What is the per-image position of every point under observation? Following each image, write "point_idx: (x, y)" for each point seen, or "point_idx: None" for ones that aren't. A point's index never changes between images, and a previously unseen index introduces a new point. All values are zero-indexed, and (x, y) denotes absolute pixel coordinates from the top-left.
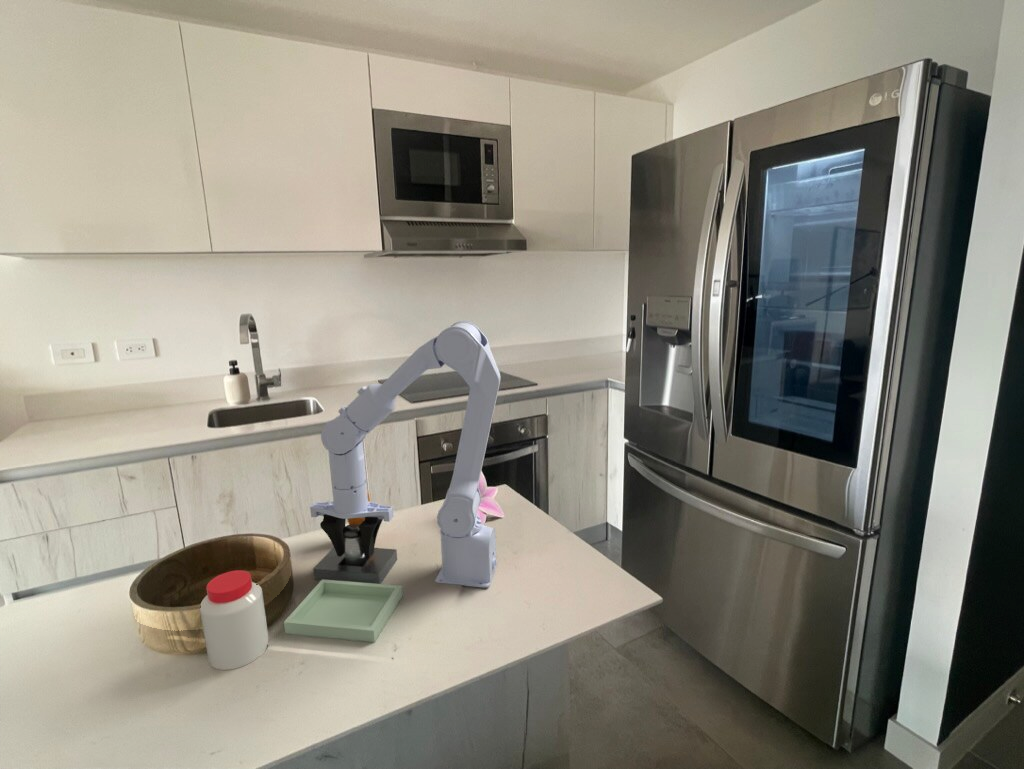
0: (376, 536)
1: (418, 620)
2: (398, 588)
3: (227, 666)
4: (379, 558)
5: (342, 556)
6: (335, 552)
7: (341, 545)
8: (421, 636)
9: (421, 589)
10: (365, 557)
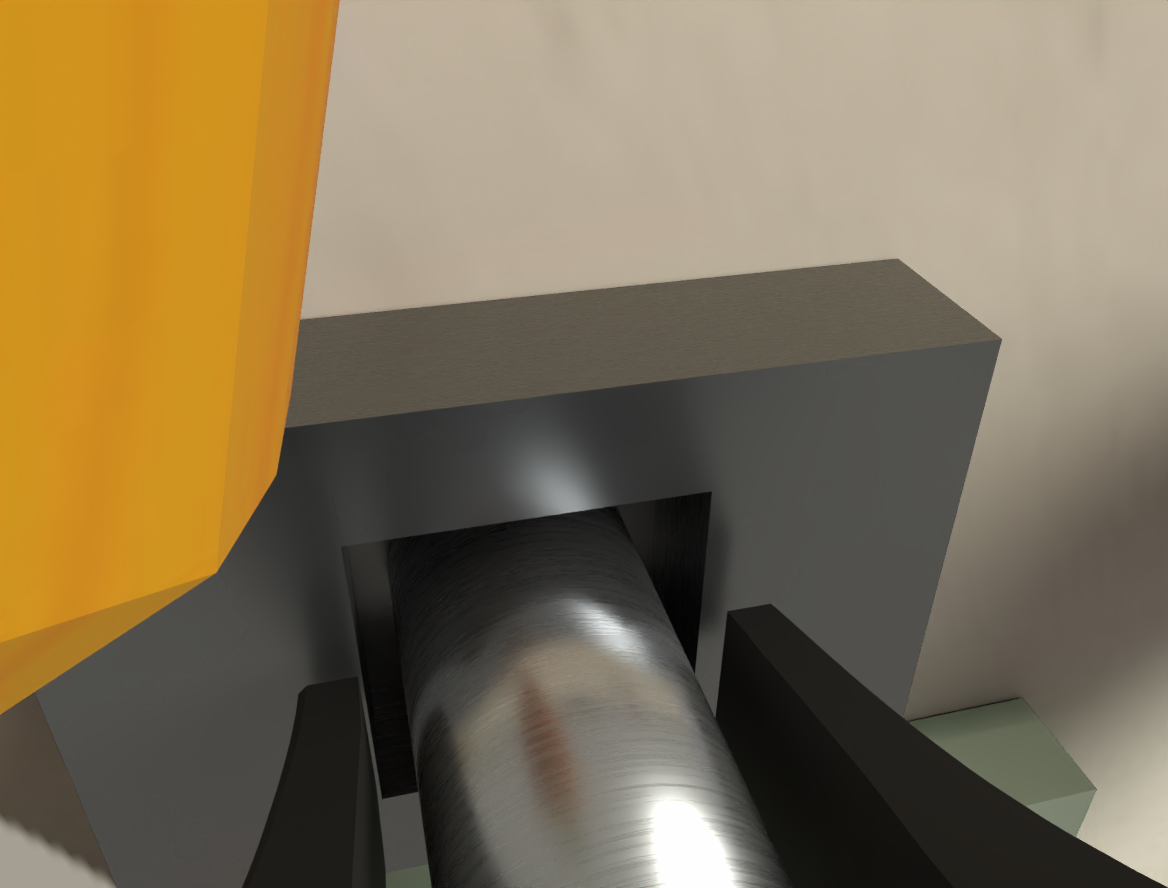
0: (944, 752)
1: (1128, 798)
2: (1073, 815)
3: None
4: (827, 570)
5: (319, 671)
6: (135, 631)
7: (375, 879)
8: (1142, 866)
9: (1152, 573)
10: (725, 737)
